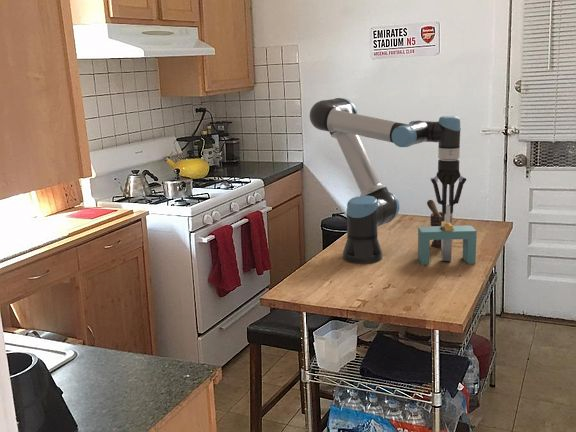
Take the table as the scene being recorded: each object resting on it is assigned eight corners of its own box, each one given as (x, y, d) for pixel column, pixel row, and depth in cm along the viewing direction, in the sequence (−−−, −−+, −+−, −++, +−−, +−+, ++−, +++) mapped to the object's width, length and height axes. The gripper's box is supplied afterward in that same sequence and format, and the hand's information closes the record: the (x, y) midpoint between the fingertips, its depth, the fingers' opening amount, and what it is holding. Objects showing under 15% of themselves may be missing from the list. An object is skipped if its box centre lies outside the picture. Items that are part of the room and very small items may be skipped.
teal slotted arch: (421, 264, 247) (421, 232, 244) (417, 258, 255) (418, 226, 252) (475, 263, 246) (476, 231, 243) (470, 257, 254) (471, 225, 251)
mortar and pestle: (443, 251, 262) (444, 202, 257) (423, 248, 267) (424, 200, 262) (454, 244, 271) (456, 196, 266) (435, 241, 276) (436, 194, 271)
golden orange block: (443, 262, 247) (444, 226, 244) (440, 256, 254) (440, 221, 250) (452, 262, 247) (453, 225, 244) (448, 256, 254) (449, 221, 250)
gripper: (432, 161, 238) (431, 225, 243) (469, 160, 237) (467, 224, 243) (428, 158, 245) (427, 220, 251) (464, 157, 245) (462, 219, 250)
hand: (447, 222), depth 247 cm, fingers closed
